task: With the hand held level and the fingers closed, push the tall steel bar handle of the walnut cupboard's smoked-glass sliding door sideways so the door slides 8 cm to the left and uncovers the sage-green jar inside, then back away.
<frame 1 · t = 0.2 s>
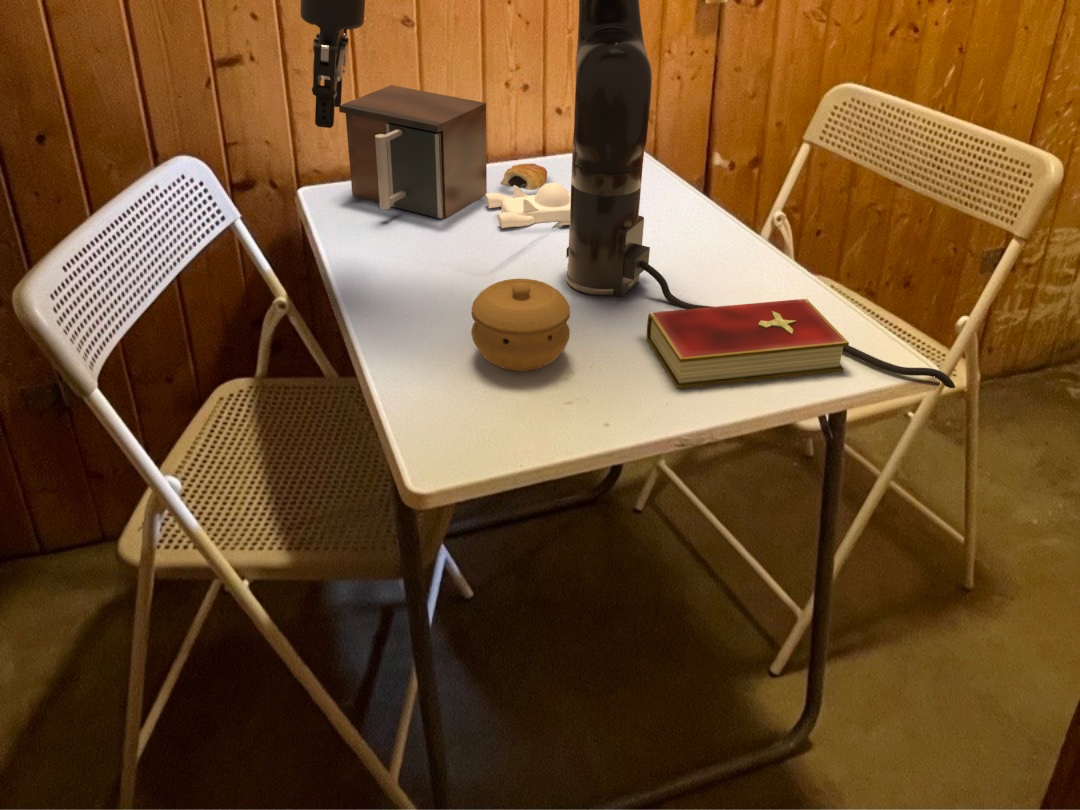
hand: (328, 115, 128), 22 cm above the table, tool pointing down, fingers open, 8 cm apart
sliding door: (404, 176, 151), point 8 cm above the table, slide at 0.0 cm
green jar: (442, 200, 162), resting on cupboard
hardcover book: (741, 356, 124), on the table
cupboard: (420, 201, 164), on the table
plane toy: (554, 220, 159), on the table
pastry: (525, 187, 171), on the table
pot: (520, 359, 123), on the table
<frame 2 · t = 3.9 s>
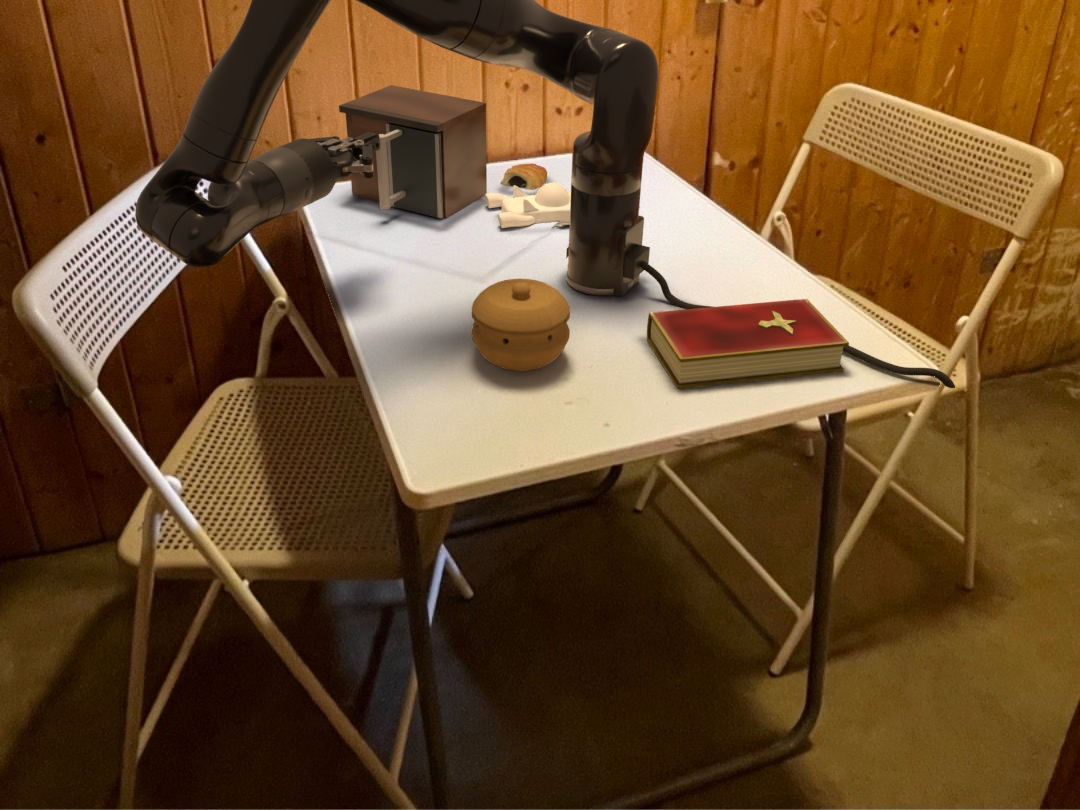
hand: (375, 140, 134), 18 cm above the table, tool horizontal, fingers closed
nothing on the table moved.
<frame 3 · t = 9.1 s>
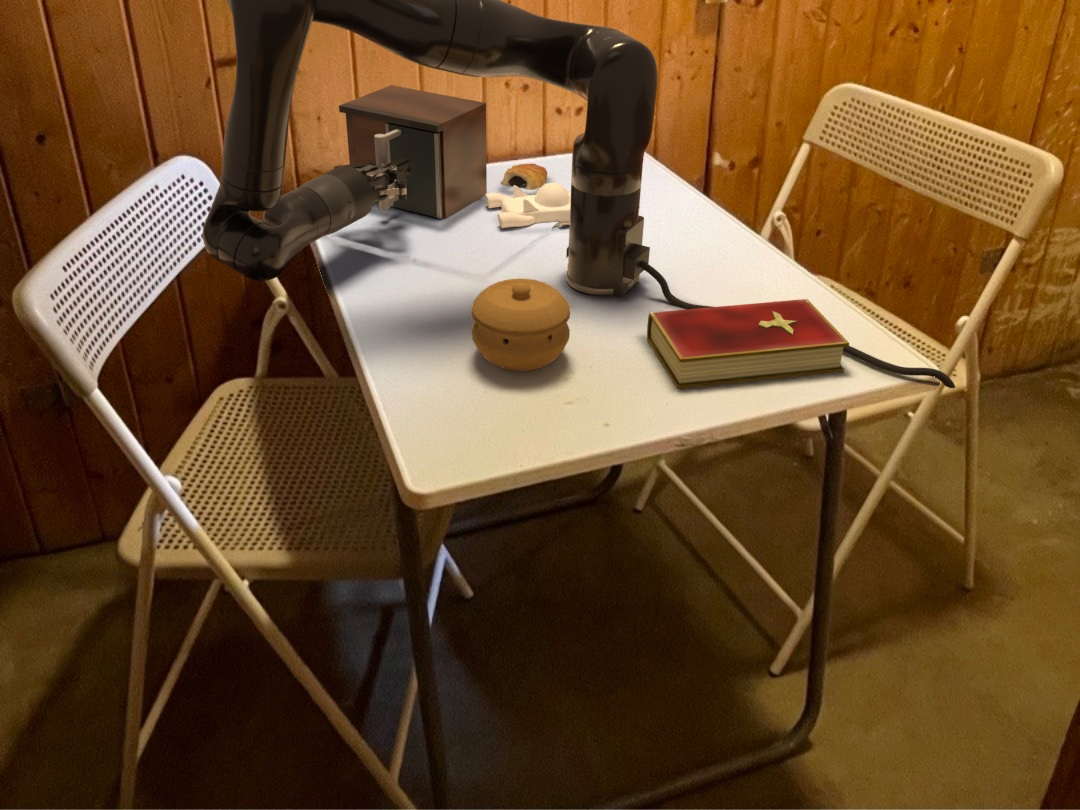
hand: (406, 164, 150), 10 cm above the table, tool horizontal, fingers closed
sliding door: (403, 176, 151), point 8 cm above the table, slide at 0.1 cm, touching gripper
everything else where it was.
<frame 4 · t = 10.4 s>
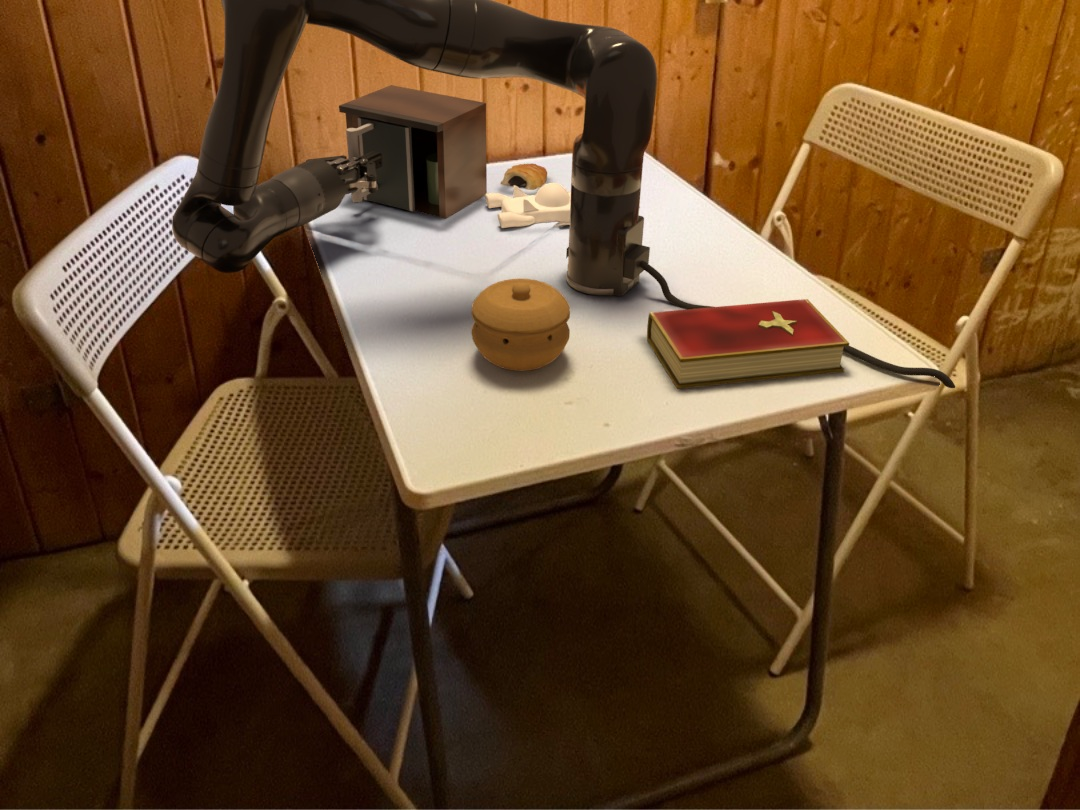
hand: (377, 158, 152), 10 cm above the table, tool horizontal, fingers closed
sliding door: (375, 169, 153), point 8 cm above the table, slide at 5.3 cm, touching gripper
everything else where it was.
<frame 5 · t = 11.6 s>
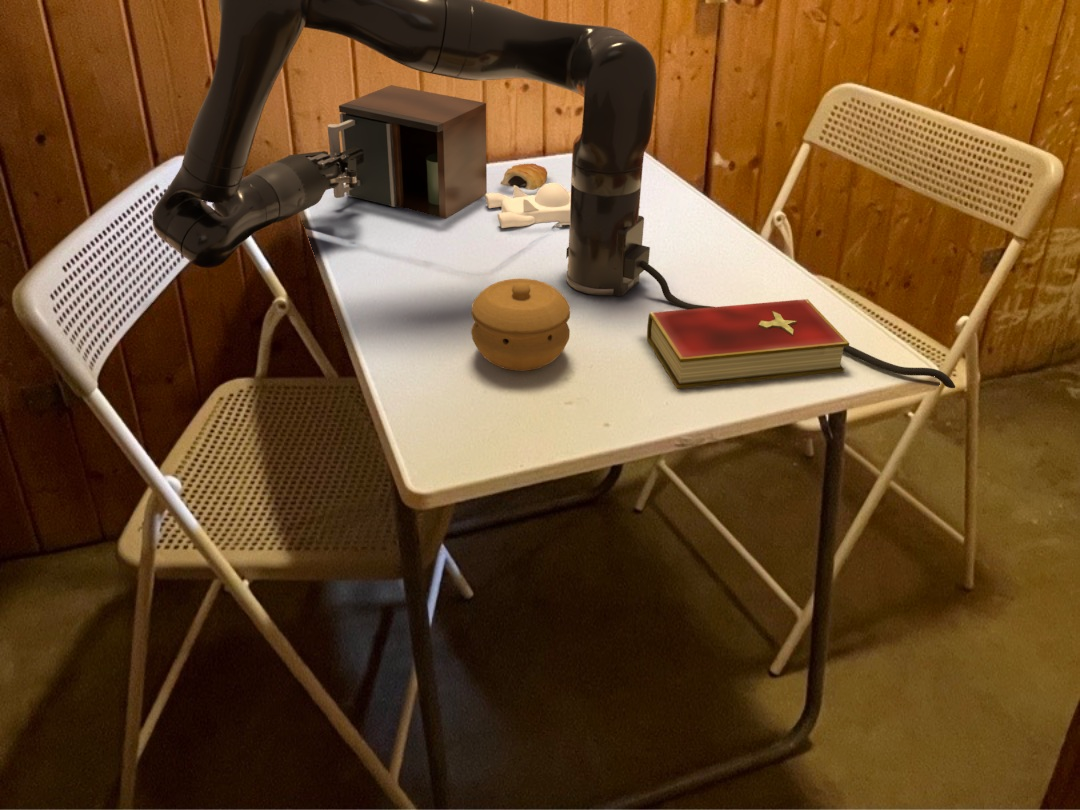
hand: (359, 154, 153), 10 cm above the table, tool horizontal, fingers closed
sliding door: (357, 165, 154), point 8 cm above the table, slide at 8.7 cm, touching gripper
everything else where it was.
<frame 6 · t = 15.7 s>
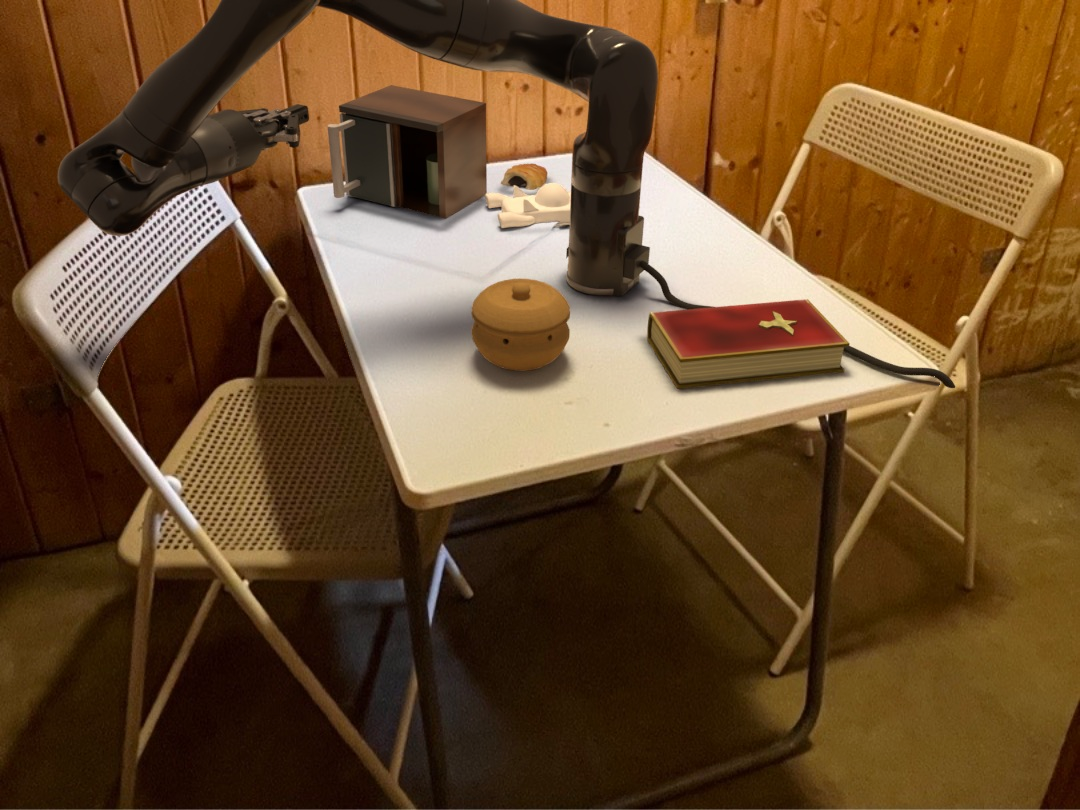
hand: (304, 112, 138), 20 cm above the table, tool horizontal, fingers closed
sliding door: (357, 165, 154), point 8 cm above the table, slide at 8.7 cm
everything else where it was.
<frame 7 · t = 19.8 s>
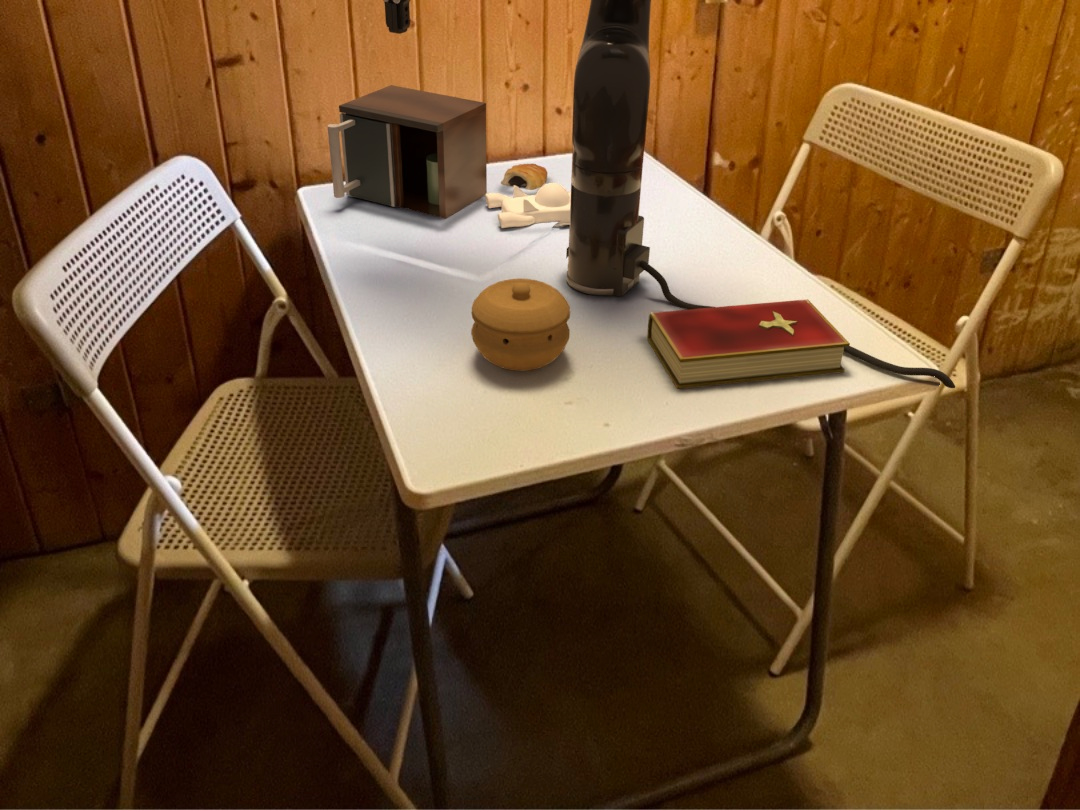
hand: (398, 31, 130), 31 cm above the table, tool pointing down, fingers closed
nothing on the table moved.
at the end: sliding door slide at 8.7 cm; the gripper is holding nothing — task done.
